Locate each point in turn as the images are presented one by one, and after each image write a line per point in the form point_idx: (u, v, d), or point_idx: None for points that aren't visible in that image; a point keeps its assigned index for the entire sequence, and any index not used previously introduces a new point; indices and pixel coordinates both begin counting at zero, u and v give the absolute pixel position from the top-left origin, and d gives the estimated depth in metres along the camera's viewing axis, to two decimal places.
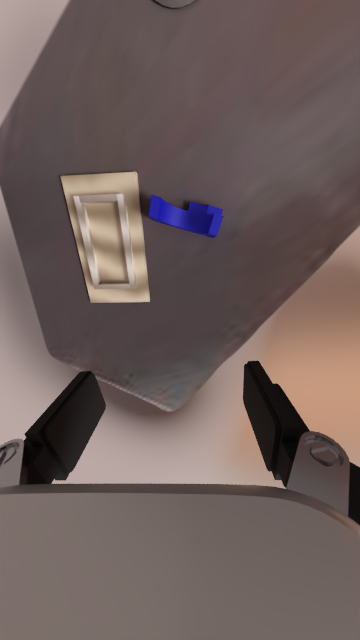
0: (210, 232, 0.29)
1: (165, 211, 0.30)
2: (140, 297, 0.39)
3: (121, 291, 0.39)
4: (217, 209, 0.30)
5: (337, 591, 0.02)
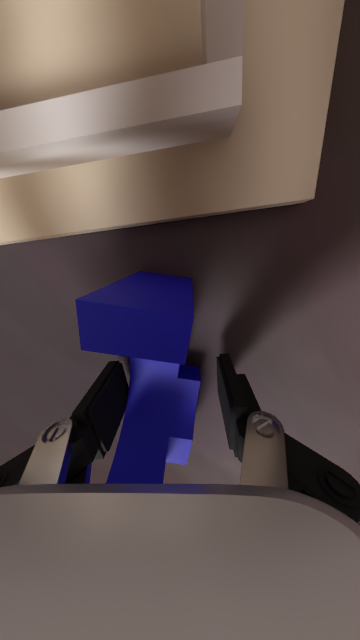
0: None
1: None
2: None
3: None
4: (185, 455, 0.11)
5: (337, 591, 0.02)
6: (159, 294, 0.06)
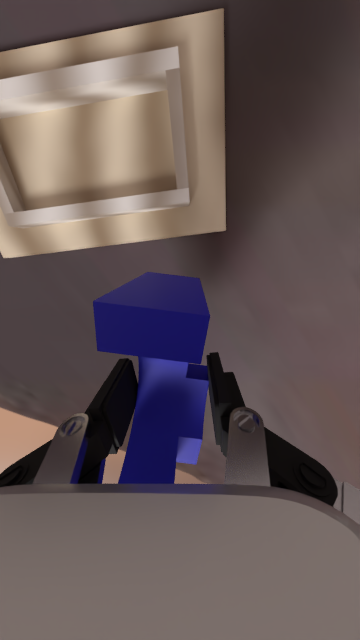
0: None
1: None
2: (3, 238, 0.18)
3: None
4: (194, 455, 0.11)
5: (337, 591, 0.02)
6: (171, 294, 0.06)
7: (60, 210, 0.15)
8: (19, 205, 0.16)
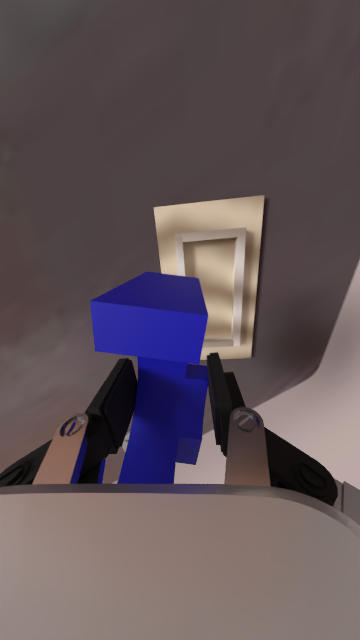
0: None
1: None
2: (168, 215, 0.23)
3: (201, 224, 0.23)
4: (194, 455, 0.11)
5: (337, 591, 0.02)
6: (170, 294, 0.06)
7: None
8: (188, 241, 0.23)
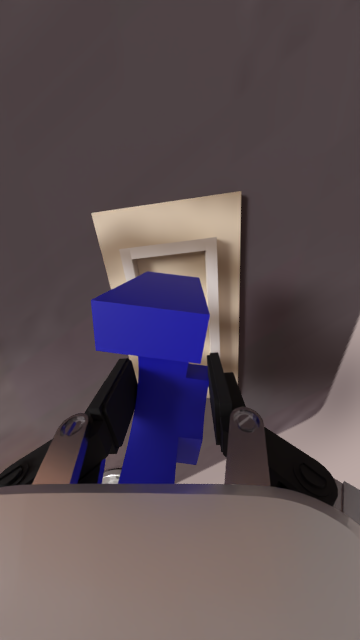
0: None
1: None
2: (112, 222, 0.17)
3: (158, 234, 0.17)
4: (194, 455, 0.11)
5: (337, 591, 0.02)
6: (171, 293, 0.06)
7: None
8: None
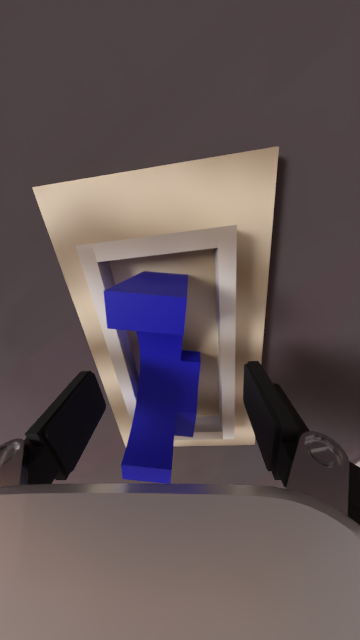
0: (125, 467, 0.10)
1: None
2: (67, 203, 0.10)
3: (141, 222, 0.11)
4: (191, 428, 0.13)
5: (337, 591, 0.02)
6: (161, 286, 0.08)
7: (110, 329, 0.12)
8: None
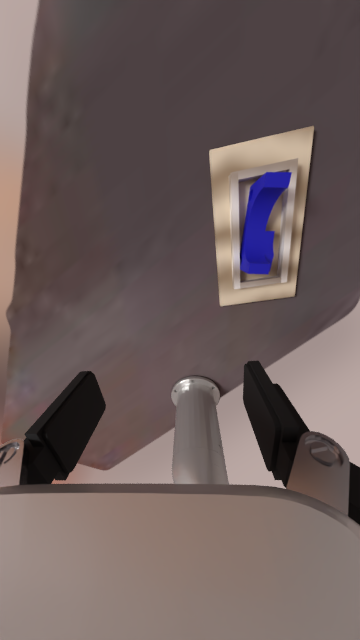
0: (251, 265, 0.25)
1: (267, 199, 0.24)
2: (223, 156, 0.25)
3: (253, 162, 0.25)
4: (269, 265, 0.28)
5: (337, 591, 0.02)
6: None
7: (236, 214, 0.26)
8: (241, 180, 0.25)
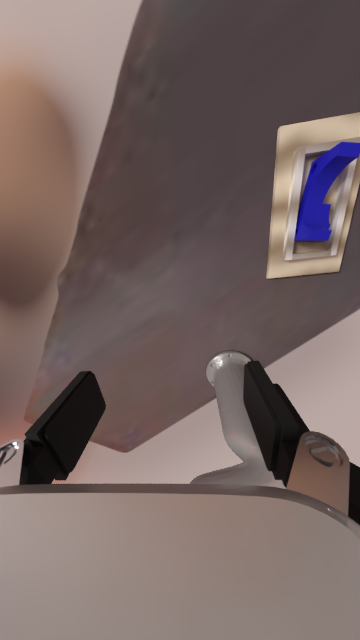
0: (313, 230, 0.27)
1: (332, 171, 0.26)
2: (291, 132, 0.27)
3: (318, 140, 0.28)
4: None
5: (337, 591, 0.02)
6: None
7: (298, 187, 0.29)
8: (306, 156, 0.28)
